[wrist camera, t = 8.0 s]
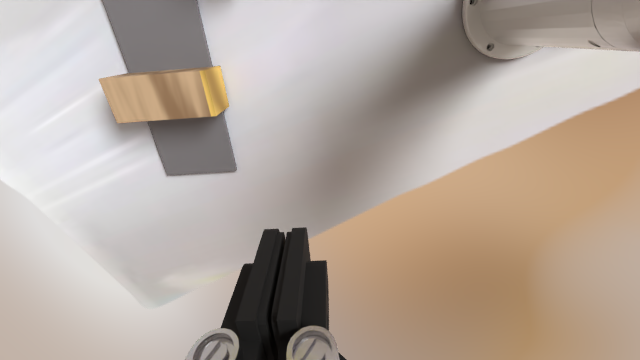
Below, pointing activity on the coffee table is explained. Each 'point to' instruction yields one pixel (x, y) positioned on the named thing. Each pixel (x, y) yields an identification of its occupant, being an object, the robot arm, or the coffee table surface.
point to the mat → (170, 54)
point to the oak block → (166, 94)
